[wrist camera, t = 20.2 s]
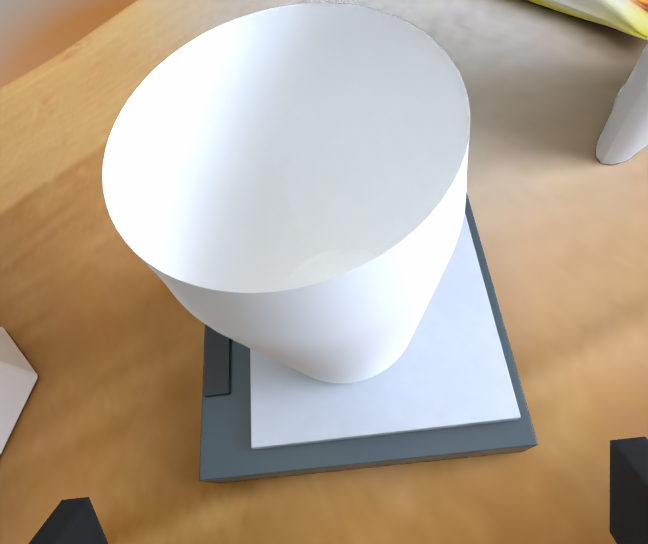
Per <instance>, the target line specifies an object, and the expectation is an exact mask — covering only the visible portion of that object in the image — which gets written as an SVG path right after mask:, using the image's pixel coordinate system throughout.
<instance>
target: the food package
mask: <svg viewBox="0 0 648 544" xmlns="http://www.w3.org/2000/svg"><path fill="white" fill-rule="evenodd" d="M527 1H530V2H533V3H536V4H539V5H542V6H545V7H547V8H550V9H553V10H556V11H559V12H562V13H565V14H568V15H572V16H575V17H578V18H581V19H585V20H588V21H592V22H595V23H599V24H602V25H605V26H609V27H612V28H615V29H617V30H619V31H622V32H624V33H627V34H629V35H631V36H634V37H637V38H640V39H644V40H647V41H648V0H527Z"/></svg>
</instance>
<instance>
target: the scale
mask: <svg viewBox="0 0 648 544" xmlns="http://www.w3.org/2000/svg"><path fill="white" fill-rule="evenodd" d="M536 445H538V443H537V440H536V436H535V432H534V429H533V425H532V422H531V418H530V415H529V411H528V408H527V404H526V401H525V397H524V394H523V390H522V386H521V383H520V379H519V376H518V372H517V369H516V365H515V362H514V358H513V355H512V351H511V348H510V344H509V340H508V337H507V333H506V330H505V326H504V323H503V319H502V316H501V312H500V309H499V305H498V302H497V298H496V294H495V291H494V287H493V284H492V280H491V277H490V273H489V270H488V266H487V263H486V259H485V256H484V252H483V248H482V245H481V241H480V238H479V234H478V231H477V227H476V224H475V220H474V217H473V213H472V210H471V206H470V203H469V199H468V195H467V192H466V205H465V215H464V219H463V224H462V228H461V231H460V234H459V237H458V240H457V243H456V246H455V249H454V252H453V254H452V256H451V258H450V260H449V262H448V264H447V266H446V268H445V271H444V273H443V275H442V277H441V279H440V281H439V283H438V285H437V287H436V289H435V291H434V293H433V295H432V297H431V299H430V302H429V304H428V306H427V308H426V310H425V312H424V314H423V316H422V318H421V320H420V322H419V324H418V326H417V328H416V330H415V332H414V334H413V336H412V338H411V340H410V342H409V344H408V346H407V348H406V349H405V351H404V352H403V353H402V355H401V356H400V357H399V358H398V359H397V360H396V361H395V362H394V363H393V364H392V365H391V366H390V367H389V368H387V369H386V370H384V371H383V372H381V373H379V374H378V375H376V376H373V377H371V378H369V379H366V380H363V381H359V382H354V383H343V384H339V383H329V382H324V381H320V380H317V379H314V378H312V377H310V376H308V375H305V374H303V373H301V372H299V371H297V370H295V369H293V368H291V367H288V366H286V365H284V364H282V363H280V362H278V361H276V360H274V359H272V358H269V357H267V356H265V355H263V354H261V353H259V352H257V351H255V350H253V349H250V348H248V347H246V346H244V345H242V344H240V343H238V342H236V341H234V340H232V339H230V338H228V337H226V336H224V335H222V334H220V333H218V332H216V331H215V330H213V329H212V328H210V327H209V326H208V325H206V324H205V340H204V367H203V394H202V421H201V448H200V475H199V480H200V481H205V482H214V483H227V482H237V481H246V480H256V479H265V478H275V477H284V476H294V475H303V474H313V473H322V472H332V471H341V470H351V469H360V468H370V467H379V466H389V465H398V464H408V463H417V462H427V461H436V460H446V459H455V458H465V457H474V456H484V455H493V454H503V453H512V452H522V451H526V450H528V449H530V448H532V447H534V446H536Z"/></svg>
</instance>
